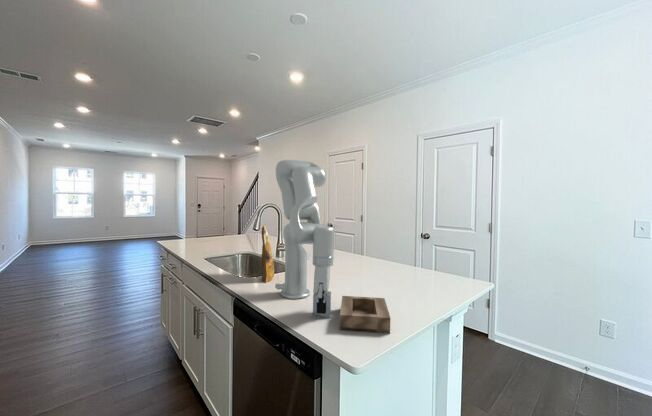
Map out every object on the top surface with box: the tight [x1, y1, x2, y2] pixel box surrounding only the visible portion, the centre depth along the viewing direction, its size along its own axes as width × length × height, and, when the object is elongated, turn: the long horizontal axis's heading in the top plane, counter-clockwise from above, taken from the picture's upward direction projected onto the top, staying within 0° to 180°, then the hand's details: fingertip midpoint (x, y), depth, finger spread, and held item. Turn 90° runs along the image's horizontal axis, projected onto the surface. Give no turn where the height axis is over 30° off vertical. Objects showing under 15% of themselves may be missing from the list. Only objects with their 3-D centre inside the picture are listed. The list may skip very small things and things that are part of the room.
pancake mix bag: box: [260, 223, 275, 283], centre depth 147 cm, size 7×19×28 cm, turn 2°
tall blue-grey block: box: [312, 290, 332, 319], centre depth 102 cm, size 6×4×8 cm
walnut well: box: [339, 295, 391, 335], centre depth 98 cm, size 16×18×5 cm
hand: (322, 309), depth 102 cm, fingers closed on tall blue-grey block, 4 cm apart
